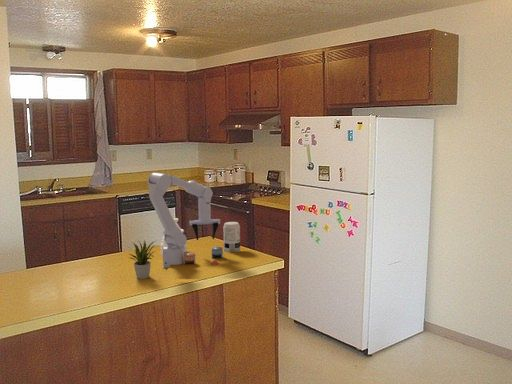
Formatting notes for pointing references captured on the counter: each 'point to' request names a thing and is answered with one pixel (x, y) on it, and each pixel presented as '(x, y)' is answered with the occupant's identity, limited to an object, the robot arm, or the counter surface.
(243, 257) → the counter surface
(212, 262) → the red marble
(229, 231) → the supplement can
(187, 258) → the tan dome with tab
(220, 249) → the slate-blue dome with prongs
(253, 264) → the counter surface
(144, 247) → the house plant
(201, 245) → the counter surface
